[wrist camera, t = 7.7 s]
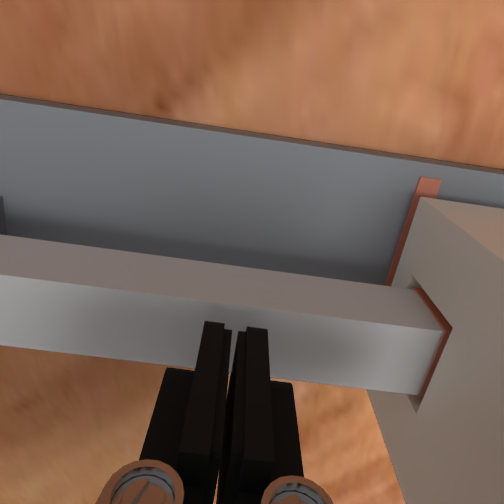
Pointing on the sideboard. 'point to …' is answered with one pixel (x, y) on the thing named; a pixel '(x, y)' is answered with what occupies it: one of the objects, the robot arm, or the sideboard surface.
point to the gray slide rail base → (217, 244)
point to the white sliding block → (453, 360)
